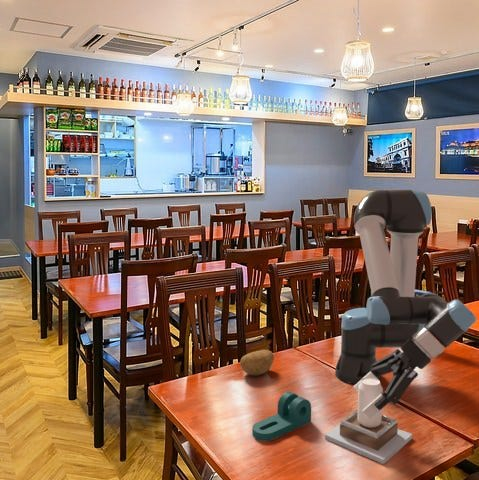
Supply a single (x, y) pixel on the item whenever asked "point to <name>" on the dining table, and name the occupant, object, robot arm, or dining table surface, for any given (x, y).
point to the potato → (257, 362)
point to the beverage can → (368, 401)
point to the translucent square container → (366, 439)
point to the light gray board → (378, 456)
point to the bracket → (284, 418)
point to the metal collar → (365, 431)
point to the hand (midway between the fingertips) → (361, 401)
